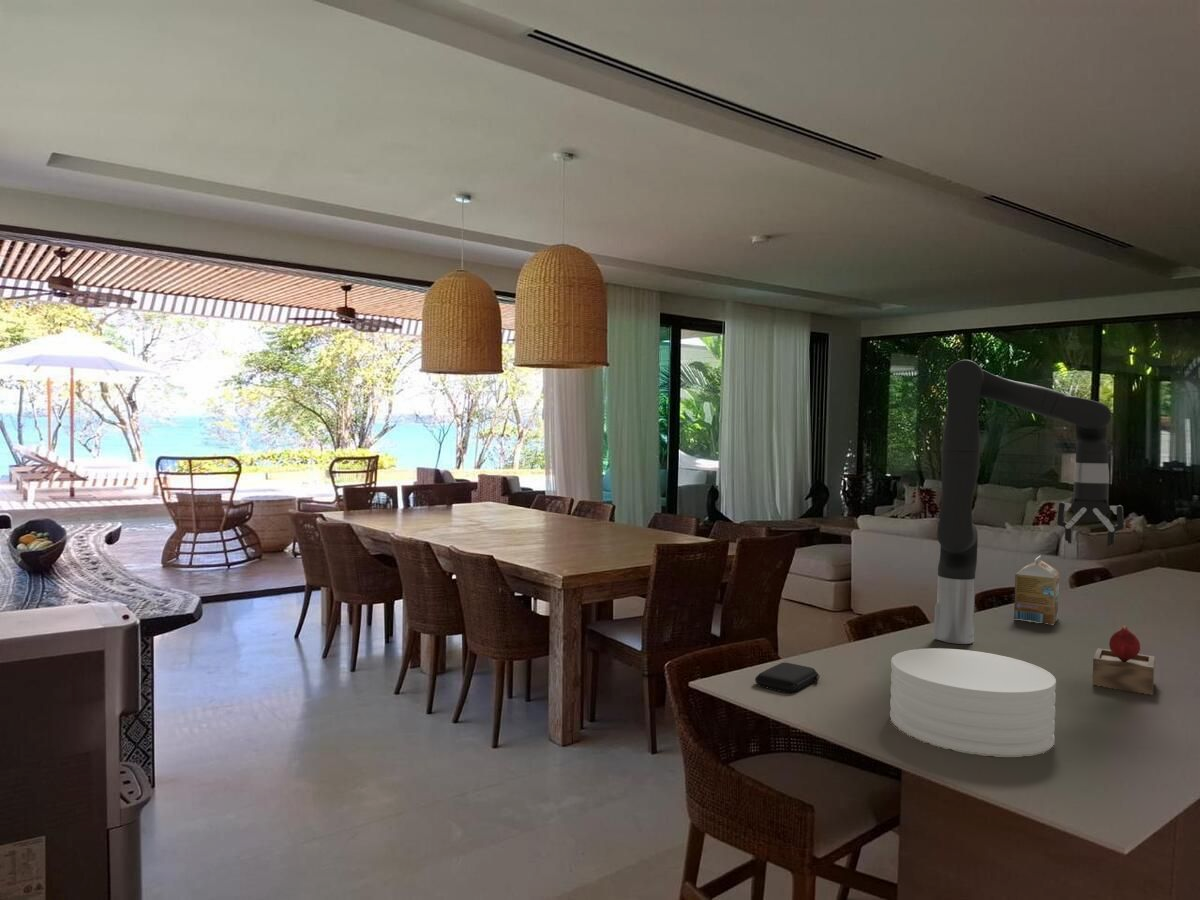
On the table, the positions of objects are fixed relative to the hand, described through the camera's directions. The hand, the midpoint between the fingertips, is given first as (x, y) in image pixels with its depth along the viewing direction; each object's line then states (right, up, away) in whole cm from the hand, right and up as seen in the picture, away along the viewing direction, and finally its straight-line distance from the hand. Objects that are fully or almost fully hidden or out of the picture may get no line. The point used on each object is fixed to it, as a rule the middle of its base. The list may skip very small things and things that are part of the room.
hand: (1089, 544), depth 202 cm
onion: (-6, -24, -23) cm, 34 cm away
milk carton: (+8, -28, +40) cm, 49 cm away
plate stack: (-55, -29, -52) cm, 81 cm away
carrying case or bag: (-82, -28, -26) cm, 91 cm away
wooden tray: (-7, -29, -23) cm, 37 cm away
